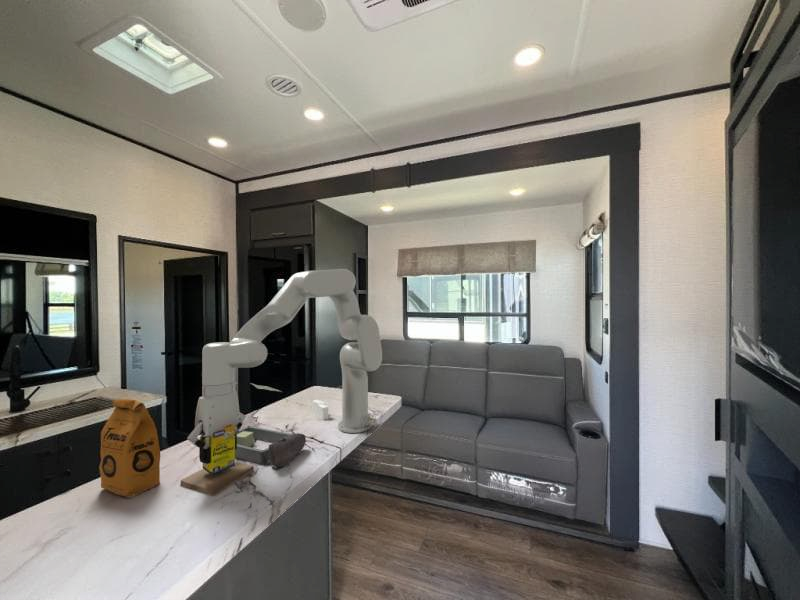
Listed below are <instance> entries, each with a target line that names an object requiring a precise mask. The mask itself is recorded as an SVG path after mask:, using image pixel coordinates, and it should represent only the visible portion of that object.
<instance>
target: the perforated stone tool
mask: <svg viewBox="0 0 800 600" xmlns="http://www.w3.org/2000/svg"><path fill="white" fill-rule="evenodd" d="M292 434H293V435H290V436H287V437H284V438H282V439H280V440H277V441H276V442H274V443H273V442H271V444H269V446H268V447H269V458H270V459H271V460H270V466H272V467H274V468H275V469H277V468H280V467H282V466H286V464H287V463H289V462H291V460H293V459H295V458H296V457H297V456H298V455H299V454H300V453H301V452H302V451H303V449H304V448H305V445H306V441H307V439H306V438H307V437H306V436H305V434H303V433H292Z"/></svg>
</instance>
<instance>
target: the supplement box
mask: <svg viewBox="0 0 800 600" xmlns="http://www.w3.org/2000/svg"><path fill="white" fill-rule="evenodd" d="M205 440H206V438H205ZM205 440H204V442H205ZM209 447H210V448H211V462H210V463H209V464H206V463H202V469H204V470H206V471H207V472H208V473H210V474H211V475H213V474H215V473H218V472H220V471H223V470H225V469H227V468H230V467H233V466H235V462H236V461H235V460H236V458H235V426H234V425H230V426H228V427H225V428H223V429H221V430H218V431H216V432H214V433H213V434H212V436H211V441H210V444H209Z"/></svg>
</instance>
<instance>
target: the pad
mask: <svg viewBox="0 0 800 600" xmlns="http://www.w3.org/2000/svg"><path fill="white" fill-rule="evenodd" d="M254 467H255V466H253V465H251V464H246V463H241V462H239V461H235V466H233V467H230V468H227V469H225V470H223V471H220V472H218V473H215V474H213V475H211V474H210V473H208V472H207V471H206V470H204V469H203V468H202V469H200V470H198V471H195V472H194V473H192V474H190V475H188V476H186V477H185V478H182V479H181V480H180V486H183V487H185V488H189V489H192V490H195V491H198V492H200V493H203V494H207V495H211V496H213V497H214V496H215V495H217V494H219V493H220V492H222V491H224V490H225V489H226V488H228V487H229V486H232V485H233V484H234V483H236V482H238V481H239V480H241V479H242V478H244V477H246V476H247V475H249V474H251V473H252V472H254V470H255V469H254Z"/></svg>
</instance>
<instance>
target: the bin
mask: <svg viewBox="0 0 800 600" xmlns="http://www.w3.org/2000/svg"><path fill="white" fill-rule="evenodd" d="M242 431H246V432H253V439H254V438H255V440H259V439H260V441H264V440H265V442H269V441H270V442H269V443H274V442H276V441H277V440H280V439H282V438H284V437H287V436H290V435H293V434H294V433H289V432H283V431H279V430H272V429H268V428H262V427H257V426H253V425H247V426H245V427H243V428H240V429H239V433H241V432H242ZM239 433H238V434H239ZM235 459H240V460H243V459H244V460H243V461H247V462H253V463H256V464H261V465H265V464H266V463H269V462H271V459H270V458H269V446H268V447H267V448H264V449H260V448H256V447H251V446H250V447H247V446H243V445H238V444H237V449H236V450H235Z"/></svg>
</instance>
